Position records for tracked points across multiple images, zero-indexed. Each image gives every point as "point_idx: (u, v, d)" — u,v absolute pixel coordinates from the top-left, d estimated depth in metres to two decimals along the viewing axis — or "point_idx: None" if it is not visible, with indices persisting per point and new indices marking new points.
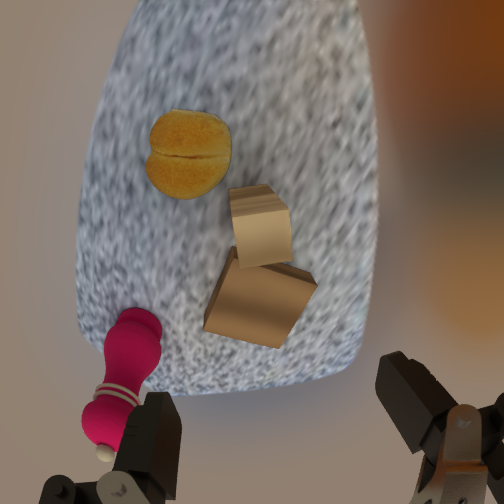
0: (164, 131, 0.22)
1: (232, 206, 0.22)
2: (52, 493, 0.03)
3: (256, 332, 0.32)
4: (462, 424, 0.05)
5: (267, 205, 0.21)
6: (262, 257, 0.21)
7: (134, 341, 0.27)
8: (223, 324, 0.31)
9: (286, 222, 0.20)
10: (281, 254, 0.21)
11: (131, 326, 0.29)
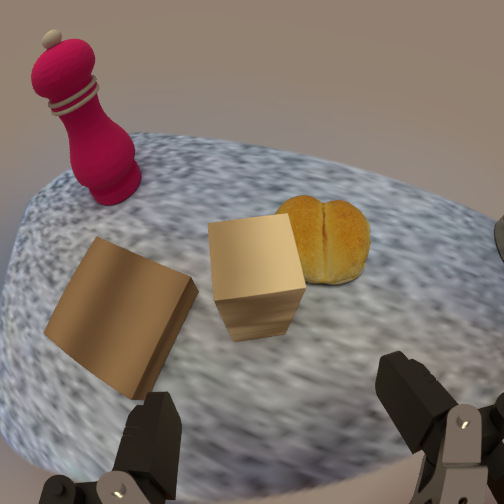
0: (348, 205, 0.22)
1: None
2: (52, 493, 0.03)
3: (73, 303, 0.19)
4: (462, 424, 0.05)
5: None
6: (223, 253, 0.13)
7: (115, 150, 0.22)
8: (96, 260, 0.21)
9: (284, 285, 0.12)
10: (226, 281, 0.12)
11: (129, 158, 0.24)
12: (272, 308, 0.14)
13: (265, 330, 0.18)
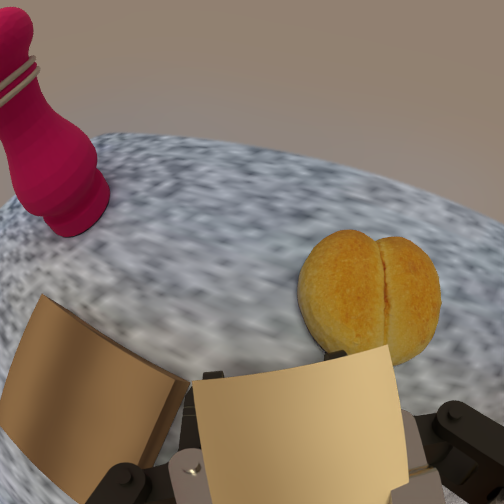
0: (416, 249, 0.14)
1: None
2: (116, 481, 0.04)
3: (21, 391, 0.10)
4: None
5: None
6: (237, 462, 0.04)
7: (64, 162, 0.14)
8: (42, 332, 0.12)
9: None
10: None
11: (86, 173, 0.16)
12: None
13: None
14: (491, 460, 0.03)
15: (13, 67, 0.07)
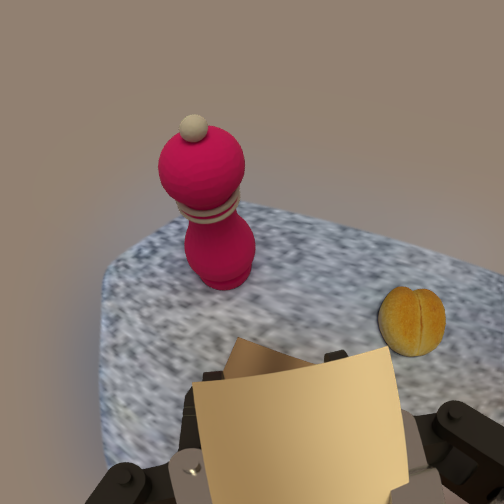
0: (435, 297, 0.26)
1: None
2: (116, 481, 0.04)
3: None
4: None
5: None
6: (237, 463, 0.04)
7: (247, 249, 0.26)
8: (246, 361, 0.24)
9: None
10: None
11: (254, 253, 0.28)
12: None
13: None
14: (491, 460, 0.03)
15: None
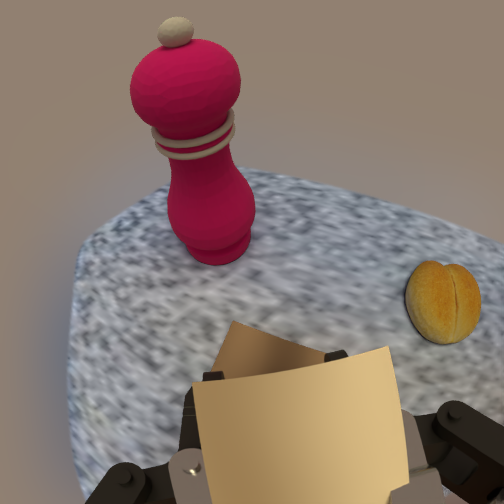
0: (468, 273, 0.20)
1: None
2: (116, 481, 0.04)
3: None
4: None
5: None
6: (237, 463, 0.04)
7: (245, 207, 0.20)
8: (243, 353, 0.18)
9: None
10: None
11: (254, 215, 0.22)
12: None
13: None
14: (491, 460, 0.03)
15: (224, 116, 0.14)
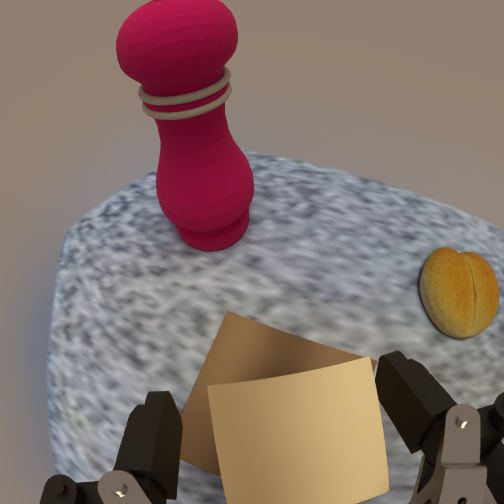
0: (485, 260, 0.18)
1: None
2: (53, 493, 0.03)
3: None
4: (461, 424, 0.05)
5: None
6: (244, 451, 0.05)
7: (242, 182, 0.18)
8: (239, 348, 0.16)
9: (355, 496, 0.04)
10: (253, 500, 0.04)
11: (252, 193, 0.20)
12: None
13: None
14: None
15: (219, 73, 0.12)
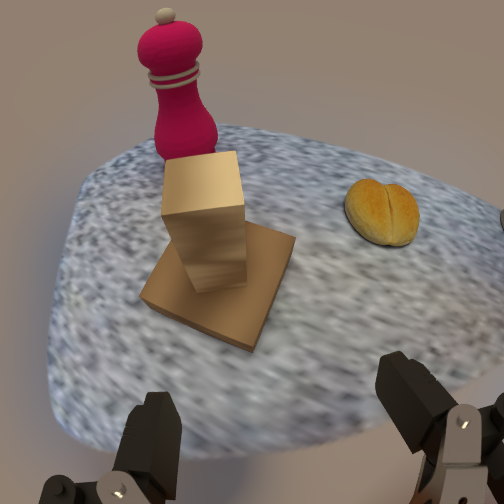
0: None
1: None
2: (52, 493, 0.03)
3: (177, 264, 0.23)
4: (462, 424, 0.05)
5: None
6: (175, 180, 0.14)
7: (208, 129, 0.27)
8: None
9: (224, 202, 0.13)
10: (174, 200, 0.13)
11: (216, 139, 0.29)
12: (220, 234, 0.15)
13: (224, 275, 0.19)
14: None
15: (192, 64, 0.20)
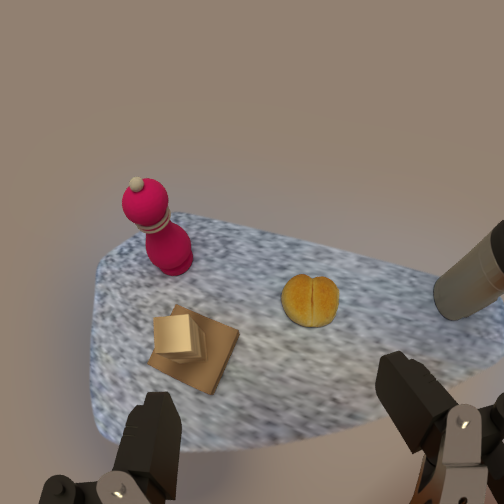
0: (327, 283, 0.40)
1: (194, 322, 0.31)
2: (52, 493, 0.03)
3: None
4: (462, 424, 0.05)
5: (193, 342, 0.29)
6: (159, 332, 0.28)
7: (182, 248, 0.40)
8: None
9: (182, 349, 0.27)
10: (160, 345, 0.27)
11: (189, 250, 0.42)
12: (184, 354, 0.29)
13: (192, 360, 0.33)
14: None
15: (163, 214, 0.34)
